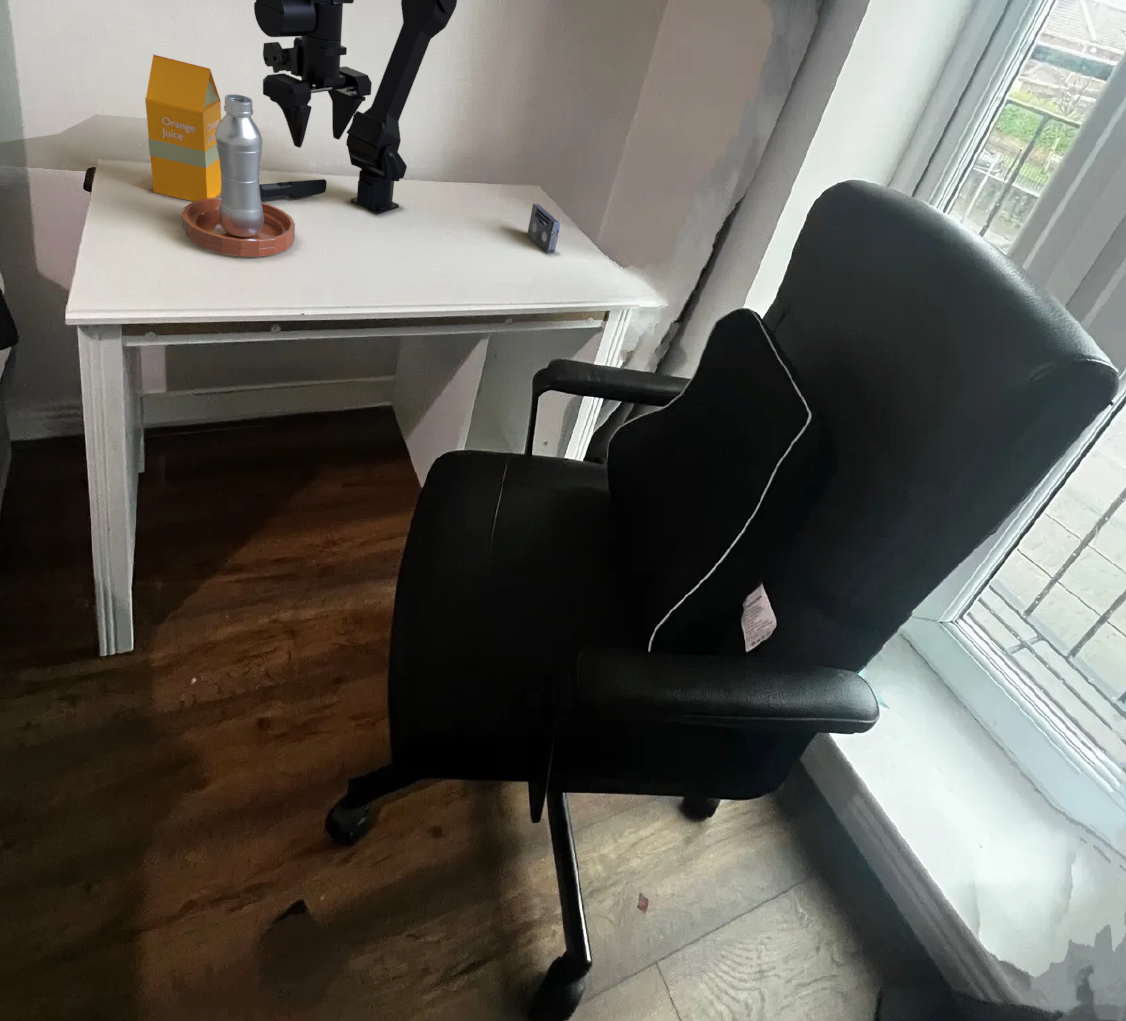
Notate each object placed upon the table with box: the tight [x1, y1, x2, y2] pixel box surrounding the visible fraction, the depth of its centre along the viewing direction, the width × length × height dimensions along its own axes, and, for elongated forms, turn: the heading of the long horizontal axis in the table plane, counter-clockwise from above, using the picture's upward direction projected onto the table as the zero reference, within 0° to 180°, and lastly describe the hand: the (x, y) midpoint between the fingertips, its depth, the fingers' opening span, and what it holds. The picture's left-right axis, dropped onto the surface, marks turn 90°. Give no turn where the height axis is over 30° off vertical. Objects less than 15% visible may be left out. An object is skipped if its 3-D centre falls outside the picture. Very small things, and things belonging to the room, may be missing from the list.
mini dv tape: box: [526, 203, 561, 254], centre depth 153 cm, size 8×2×6 cm, turn 31°
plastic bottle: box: [215, 93, 264, 237], centre depth 123 cm, size 6×7×20 cm
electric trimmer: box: [259, 178, 328, 202], centre depth 144 cm, size 4×16×3 cm, turn 138°
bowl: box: [181, 196, 296, 258], centre depth 128 cm, size 16×16×3 cm
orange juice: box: [144, 54, 222, 202], centre depth 132 cm, size 8×9×20 cm
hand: (317, 142), depth 132 cm, fingers open, 9 cm apart
